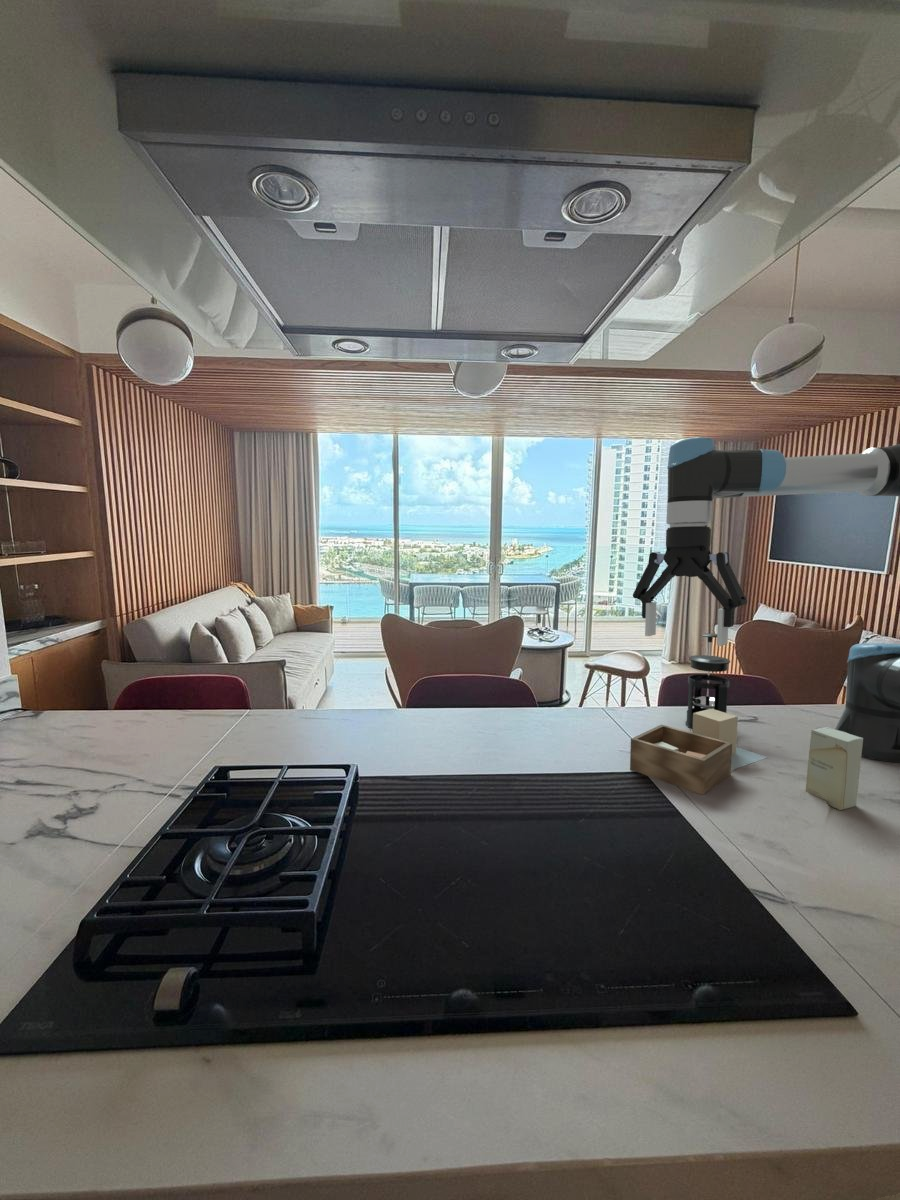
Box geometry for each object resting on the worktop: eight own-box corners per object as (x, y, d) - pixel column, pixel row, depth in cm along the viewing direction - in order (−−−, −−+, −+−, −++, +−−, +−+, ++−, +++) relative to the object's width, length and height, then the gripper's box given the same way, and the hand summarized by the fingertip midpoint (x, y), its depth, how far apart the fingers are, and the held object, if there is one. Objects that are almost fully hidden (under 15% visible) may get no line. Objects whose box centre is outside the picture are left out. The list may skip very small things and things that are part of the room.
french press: (676, 720, 132) (679, 630, 130) (712, 718, 133) (716, 629, 130) (702, 736, 120) (706, 639, 118) (741, 735, 121) (745, 638, 119)
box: (730, 778, 99) (732, 743, 98) (702, 799, 91) (704, 760, 91) (660, 756, 110) (661, 724, 109) (629, 773, 102) (630, 738, 101)
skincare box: (804, 795, 92) (808, 728, 91) (821, 790, 94) (825, 725, 93) (842, 811, 87) (847, 741, 85) (859, 806, 88) (864, 737, 87)
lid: (767, 763, 107) (769, 719, 106) (727, 777, 101) (729, 731, 100) (701, 739, 120) (703, 700, 119) (662, 750, 114) (664, 709, 113)
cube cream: (677, 768, 102) (678, 748, 102) (663, 772, 100) (663, 752, 100) (661, 760, 106) (662, 741, 105) (647, 764, 104) (647, 745, 104)
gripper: (771, 523, 88) (765, 646, 91) (636, 528, 107) (634, 629, 110) (754, 522, 84) (748, 652, 86) (616, 527, 102) (614, 634, 105)
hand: (684, 640), depth 98 cm, fingers open, 13 cm apart
